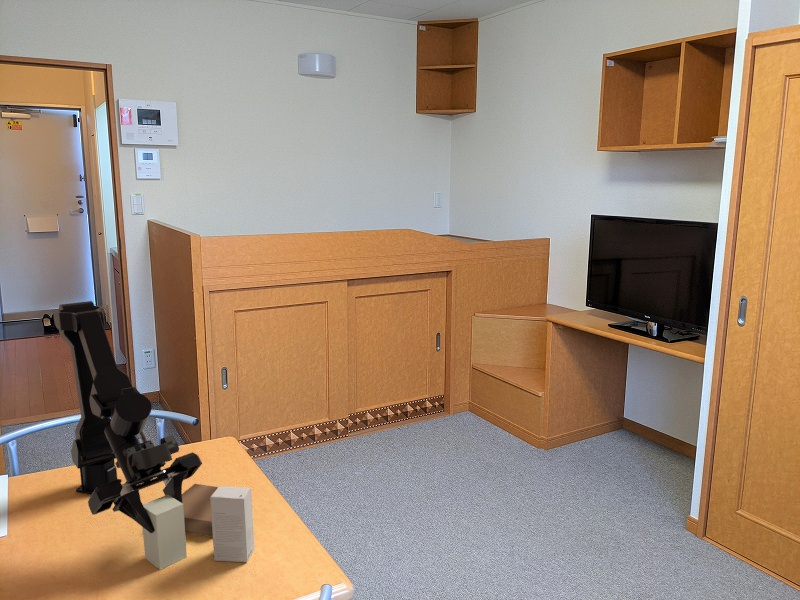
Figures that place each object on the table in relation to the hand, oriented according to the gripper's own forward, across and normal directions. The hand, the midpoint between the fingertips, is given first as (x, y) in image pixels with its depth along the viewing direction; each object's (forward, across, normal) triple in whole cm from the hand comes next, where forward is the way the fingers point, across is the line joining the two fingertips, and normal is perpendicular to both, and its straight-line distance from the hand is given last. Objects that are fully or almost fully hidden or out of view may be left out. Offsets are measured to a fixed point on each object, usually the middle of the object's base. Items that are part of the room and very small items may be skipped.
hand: (167, 525), depth 112 cm
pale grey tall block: (+4, 0, +6) cm, 7 cm away
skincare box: (+10, +8, 0) cm, 13 cm away
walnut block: (-1, +12, +11) cm, 16 cm away
